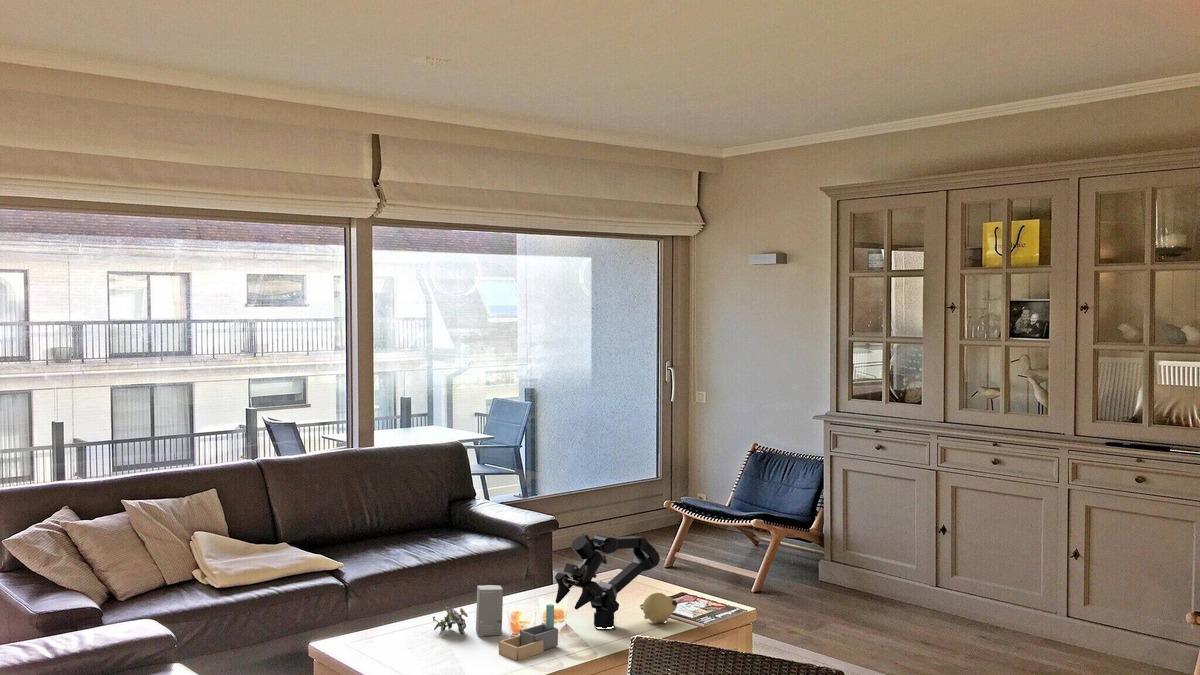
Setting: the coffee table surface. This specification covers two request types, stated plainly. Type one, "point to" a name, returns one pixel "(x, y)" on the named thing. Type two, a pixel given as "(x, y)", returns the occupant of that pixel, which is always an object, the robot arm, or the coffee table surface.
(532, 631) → the grey box with post
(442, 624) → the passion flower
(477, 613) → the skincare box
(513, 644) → the tan open box
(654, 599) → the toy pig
